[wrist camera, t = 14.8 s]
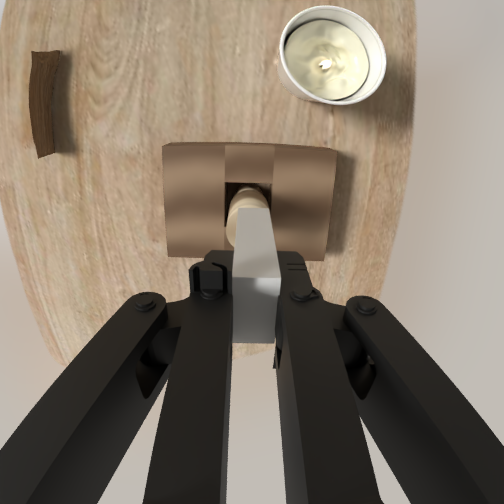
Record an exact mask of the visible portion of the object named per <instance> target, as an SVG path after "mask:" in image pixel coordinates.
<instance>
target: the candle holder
mask: <svg viewBox="0 0 504 504" xmlns="http://www.w3.org/2000/svg"><path fill="white" fill-rule="evenodd" d="M385 71H386V53H385V49H384V46H383V43H382V41H381V39H380V37H379V35H378V34H377V32H376V31H375V29H374V28H373V27H372V26H371V25H370V24H369V23H368V22H367V21H366V20H365V19H363V18H362V17H361V16H359V15H358V14H356V13H354V12H352V11H350V10H347V9H344V8H341V7H336V6H316V7H312V8H308V9H306V10H304V11H302V12H300V13H298V14H297V15H296V16H294V17H293V18H292V19H291V20H290V21H289V22H288V24H287V25H286V27H285V29H284V31H283V33H282V36H281V39H280V49H279V54H278V59H277V74H278V77H279V80H280V82H281V84H282V85H283V87H284V88H285V89H286V90H287V91H288V92H289V93H291V94H292V95H294V96H295V97H297V98H300V99H303V100H307V101H313V102H322V103H327V104H332V105H349V104H354V103H357V102H360V101H362V100H364V99H366V98H367V97H369V96H370V95H371V94H373V93H374V92H375V91H376V90H377V88H378V87H379V86H380V84H381V82H382V80H383V78H384V75H385Z"/></svg>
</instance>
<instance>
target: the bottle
mask: <svg viewBox="0 0 504 504" xmlns="http://www.w3.org/2000/svg"><path fill="white" fill-rule="evenodd" d="M238 208H269V207H268V203H267V200H266V198H265V197H264V196H263V194H262V191H261V189H260V188H259V187H258V186H256V185H255V184H251V183H246V184H243V185H241V186H240V187H239V188H238V189H237V190H236V192H235V196H234V197H233V199H232V201H231V203H230V208H229V214H228V220H227V226H226V235H227V238H228V241H229V242H230V244H231V245H232V246H233V247H234V248H235V237H236V227H237V217H238ZM269 212H270V211H269ZM270 218H271V215H270ZM271 223H272V220H271ZM272 229H273V224H272Z"/></svg>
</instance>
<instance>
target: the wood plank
mask: <svg viewBox="0 0 504 504" xmlns="http://www.w3.org/2000/svg"><path fill="white" fill-rule="evenodd" d="M31 53H32V68H31V74H30V83H29V109H30V118H31V126H32V134H33V140H34V143H35V145H36V150H37V155H38V159H39V158H41V157H44V156H46V155H50V154H53V153H55V149H54V142H53V131H52V114H51V98H52V93H53V92H52V91H53V89H54V88H53V80H54V75H55V73H56V70H57V67H58V62H59V58H60V51H59V50H56V51H50V52H34V51H31Z"/></svg>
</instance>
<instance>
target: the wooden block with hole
mask: <svg viewBox="0 0 504 504" xmlns="http://www.w3.org/2000/svg"><path fill="white" fill-rule="evenodd" d="M336 161H337V152H336V151H334V150H332V149H330V148H324V147H313V146H301V145H286V144H268V143H241V142H180V143H169V144H166V145H164V146H162V164H163V190H164V209H165V225H166V239H167V251H168V257H188V258H205V255H206V254H207V253H209V252H210V251H211V250H233V251H234V247H233V246H232V245H231V244H230V242H229V241H228V238H227V235H226V226H227V220H228V216H226V201H227V182H244V183H270V192H269V211H270V215H271V220H272V224H273V234H274V240H275V246H276V251H297V252H298V253H299V254H300V255H301V256H302V257H303V258H304V261H324V258H325V251H326V244H327V237H328V230H329V223H330V215H331V207H332V199H333V190H334V181H335V171H336Z"/></svg>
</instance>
